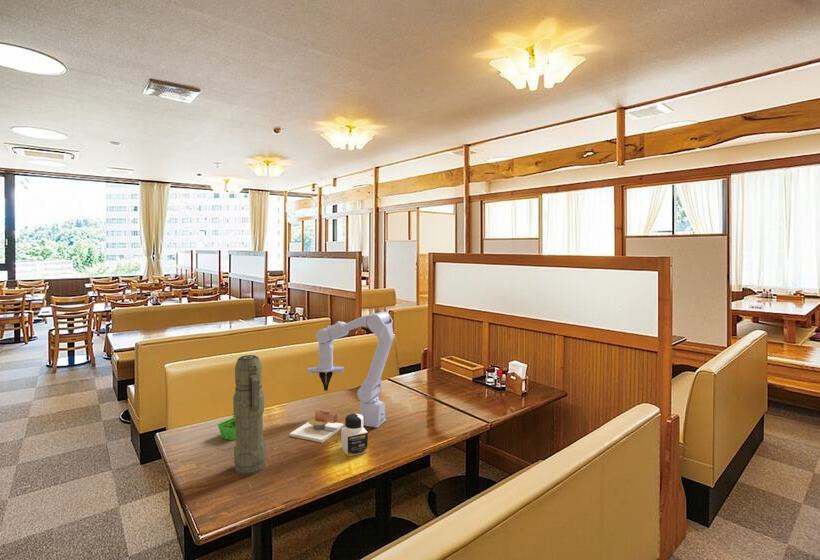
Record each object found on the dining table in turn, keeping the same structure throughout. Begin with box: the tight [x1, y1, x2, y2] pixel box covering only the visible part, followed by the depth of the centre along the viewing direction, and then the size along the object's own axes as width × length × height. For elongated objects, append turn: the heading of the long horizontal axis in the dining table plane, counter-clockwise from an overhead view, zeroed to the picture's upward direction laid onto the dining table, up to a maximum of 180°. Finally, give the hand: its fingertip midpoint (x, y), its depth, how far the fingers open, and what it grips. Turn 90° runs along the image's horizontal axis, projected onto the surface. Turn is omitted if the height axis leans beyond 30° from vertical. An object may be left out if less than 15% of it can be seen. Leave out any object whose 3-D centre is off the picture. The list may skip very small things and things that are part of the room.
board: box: [289, 421, 345, 443], centre depth 160 cm, size 14×15×3 cm
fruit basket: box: [217, 412, 236, 441], centre depth 156 cm, size 11×9×11 cm
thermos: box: [232, 354, 266, 476], centre depth 131 cm, size 9×12×35 cm
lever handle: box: [308, 409, 338, 426], centre depth 160 cm, size 8×11×4 cm
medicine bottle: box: [340, 413, 369, 457], centre depth 145 cm, size 7×7×12 cm
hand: (326, 389), depth 175 cm, fingers closed
